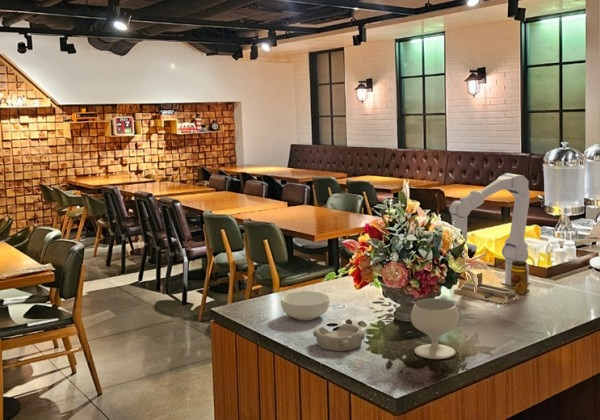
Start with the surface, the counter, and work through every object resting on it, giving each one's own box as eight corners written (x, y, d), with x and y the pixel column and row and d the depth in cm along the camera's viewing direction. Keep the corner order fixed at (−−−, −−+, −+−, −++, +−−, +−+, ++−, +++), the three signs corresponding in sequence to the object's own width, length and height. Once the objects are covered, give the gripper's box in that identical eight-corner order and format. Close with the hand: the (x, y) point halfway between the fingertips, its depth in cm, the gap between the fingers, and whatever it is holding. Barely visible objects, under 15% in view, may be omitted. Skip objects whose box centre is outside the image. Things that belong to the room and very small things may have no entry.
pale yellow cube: (471, 283, 275) (471, 270, 274) (482, 286, 271) (482, 272, 270) (463, 286, 272) (463, 272, 271) (474, 288, 268) (474, 274, 267)
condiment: (508, 294, 268) (509, 263, 266) (510, 288, 276) (510, 258, 274) (528, 295, 266) (529, 264, 264) (529, 289, 274) (530, 259, 272)
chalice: (401, 349, 213) (401, 301, 210) (440, 341, 219) (440, 294, 216) (429, 364, 200) (429, 313, 198) (468, 356, 206) (469, 306, 204)
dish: (308, 344, 221) (307, 328, 220) (342, 334, 229) (342, 319, 228) (336, 357, 209) (336, 340, 208) (372, 346, 217) (372, 330, 216)
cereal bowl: (274, 322, 243) (273, 302, 242) (291, 308, 258) (290, 289, 257) (321, 326, 237) (320, 306, 236) (335, 312, 253) (335, 292, 251)
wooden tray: (471, 287, 279) (471, 278, 279) (520, 298, 263) (520, 288, 262) (452, 293, 272) (452, 284, 271) (502, 304, 255) (502, 295, 255)
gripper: (437, 231, 275) (437, 265, 277) (469, 236, 264) (468, 271, 266) (449, 228, 279) (448, 262, 281) (480, 233, 268) (479, 268, 270)
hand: (459, 266), depth 274 cm, fingers open, 7 cm apart
